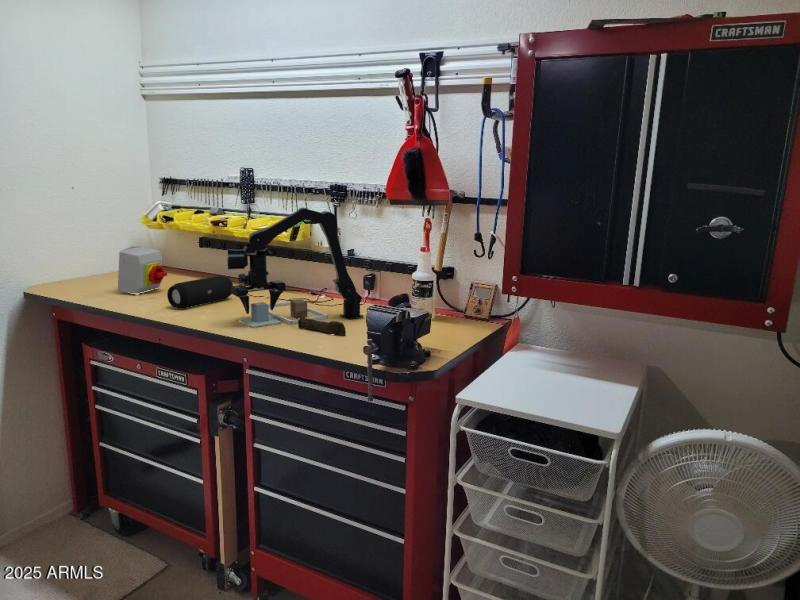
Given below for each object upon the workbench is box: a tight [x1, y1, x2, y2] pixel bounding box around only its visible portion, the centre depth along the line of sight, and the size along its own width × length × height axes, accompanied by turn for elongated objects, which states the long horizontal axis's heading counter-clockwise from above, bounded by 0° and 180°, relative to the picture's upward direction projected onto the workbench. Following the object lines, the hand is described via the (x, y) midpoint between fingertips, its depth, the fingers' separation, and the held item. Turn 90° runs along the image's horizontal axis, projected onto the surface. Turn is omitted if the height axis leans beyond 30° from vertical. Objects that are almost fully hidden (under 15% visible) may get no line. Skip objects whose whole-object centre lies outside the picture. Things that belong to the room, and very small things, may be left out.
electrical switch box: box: [117, 245, 168, 293], centre depth 251 cm, size 15×15×20 cm
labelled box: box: [250, 301, 270, 323], centre depth 208 cm, size 4×4×6 cm
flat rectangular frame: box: [267, 300, 329, 325], centre depth 222 cm, size 28×16×1 cm, turn 39°
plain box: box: [289, 298, 308, 320], centre depth 217 cm, size 4×4×6 cm
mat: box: [238, 315, 283, 328], centre depth 209 cm, size 11×11×1 cm
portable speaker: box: [166, 275, 234, 309], centre depth 234 cm, size 26×10×10 cm, turn 147°
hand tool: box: [297, 317, 347, 337], centre depth 198 cm, size 19×4×5 cm, turn 57°
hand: (259, 311), depth 208 cm, fingers open, 9 cm apart
